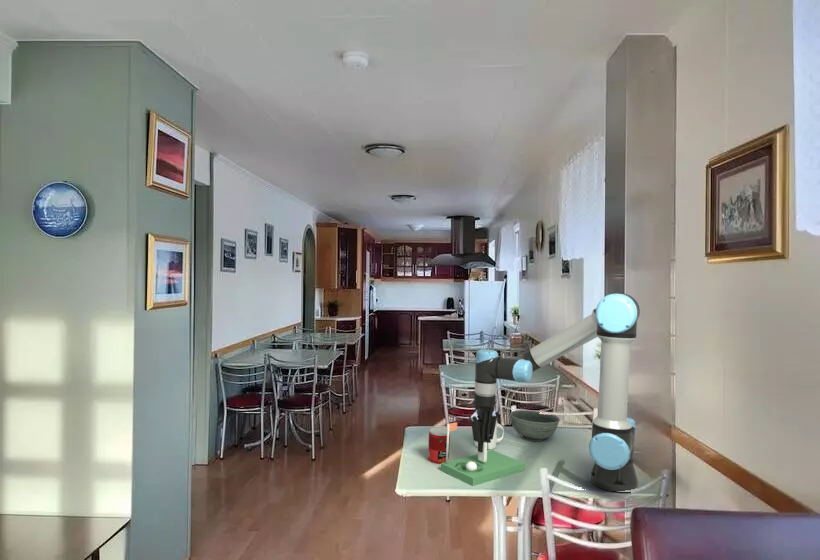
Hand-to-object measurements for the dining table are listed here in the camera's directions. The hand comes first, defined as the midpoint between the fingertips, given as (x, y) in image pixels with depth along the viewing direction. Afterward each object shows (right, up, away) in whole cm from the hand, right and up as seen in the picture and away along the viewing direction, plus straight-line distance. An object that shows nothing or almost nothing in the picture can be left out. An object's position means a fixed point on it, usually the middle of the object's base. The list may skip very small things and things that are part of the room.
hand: (482, 460), depth 188 cm
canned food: (-15, -3, +9) cm, 18 cm away
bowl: (+27, -4, +39) cm, 48 cm away
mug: (+6, -4, +27) cm, 28 cm away
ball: (-4, -1, -3) cm, 6 cm away
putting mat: (0, -4, +1) cm, 4 cm away
